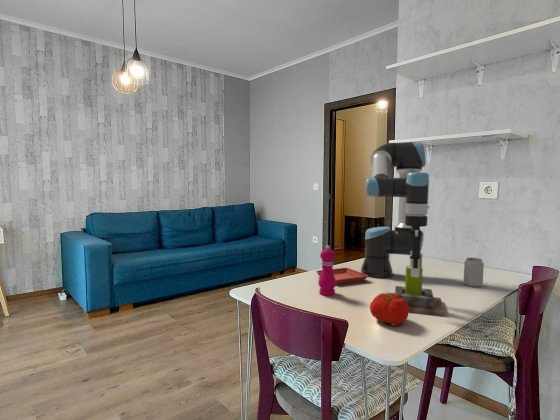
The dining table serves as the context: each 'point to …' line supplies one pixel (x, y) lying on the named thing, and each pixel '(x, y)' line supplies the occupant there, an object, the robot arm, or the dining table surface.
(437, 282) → the dining table surface
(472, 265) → the can
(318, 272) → the plant saucer
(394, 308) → the tomato
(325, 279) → the pepper mill
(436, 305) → the charging dock
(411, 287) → the vape
